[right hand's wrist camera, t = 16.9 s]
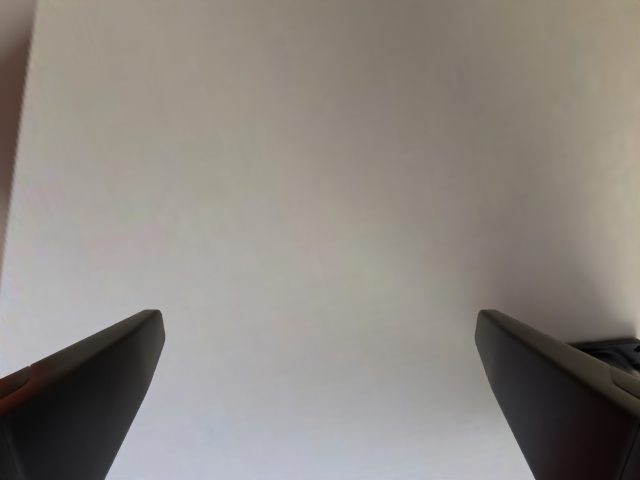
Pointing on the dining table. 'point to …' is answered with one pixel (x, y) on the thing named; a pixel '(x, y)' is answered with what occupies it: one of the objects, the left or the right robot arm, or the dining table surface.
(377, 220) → the dining table surface
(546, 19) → the dining table surface
